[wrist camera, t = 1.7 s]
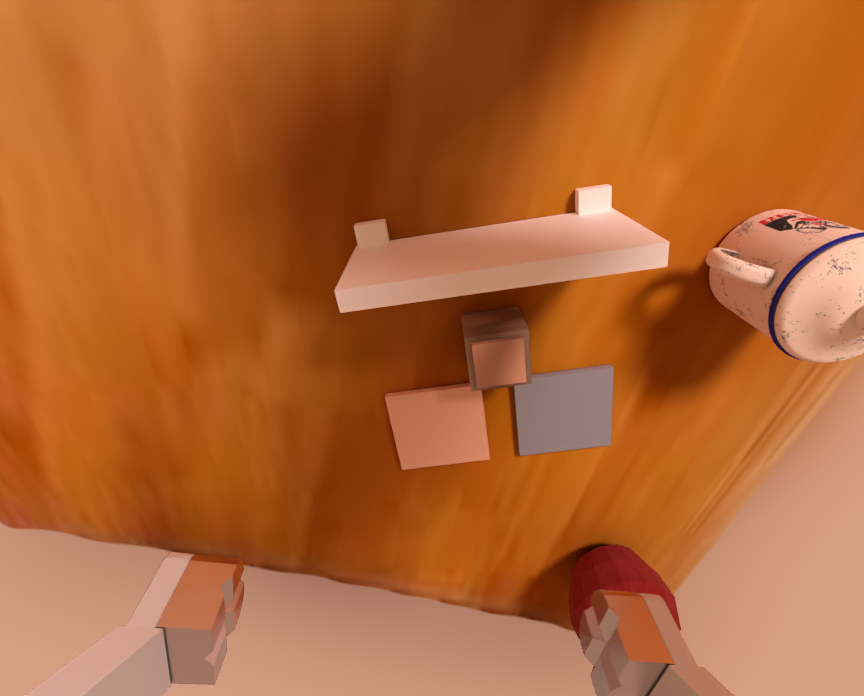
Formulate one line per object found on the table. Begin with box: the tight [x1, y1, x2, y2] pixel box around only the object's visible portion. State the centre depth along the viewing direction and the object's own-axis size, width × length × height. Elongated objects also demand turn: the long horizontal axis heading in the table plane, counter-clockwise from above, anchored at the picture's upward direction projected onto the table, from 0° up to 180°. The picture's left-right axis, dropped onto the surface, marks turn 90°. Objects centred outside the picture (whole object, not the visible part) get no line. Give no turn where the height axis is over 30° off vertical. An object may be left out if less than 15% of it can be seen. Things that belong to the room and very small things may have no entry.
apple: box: [569, 544, 681, 639], centre depth 50 cm, size 11×11×12 cm
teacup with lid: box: [705, 209, 864, 363], centre depth 33 cm, size 12×9×12 cm
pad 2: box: [513, 364, 614, 456], centre depth 45 cm, size 9×9×1 cm
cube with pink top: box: [461, 306, 532, 391], centre depth 39 cm, size 5×5×5 cm
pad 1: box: [385, 383, 490, 470], centre depth 45 cm, size 9×9×1 cm
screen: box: [334, 184, 669, 313], centre depth 33 cm, size 20×5×10 cm, turn 99°
